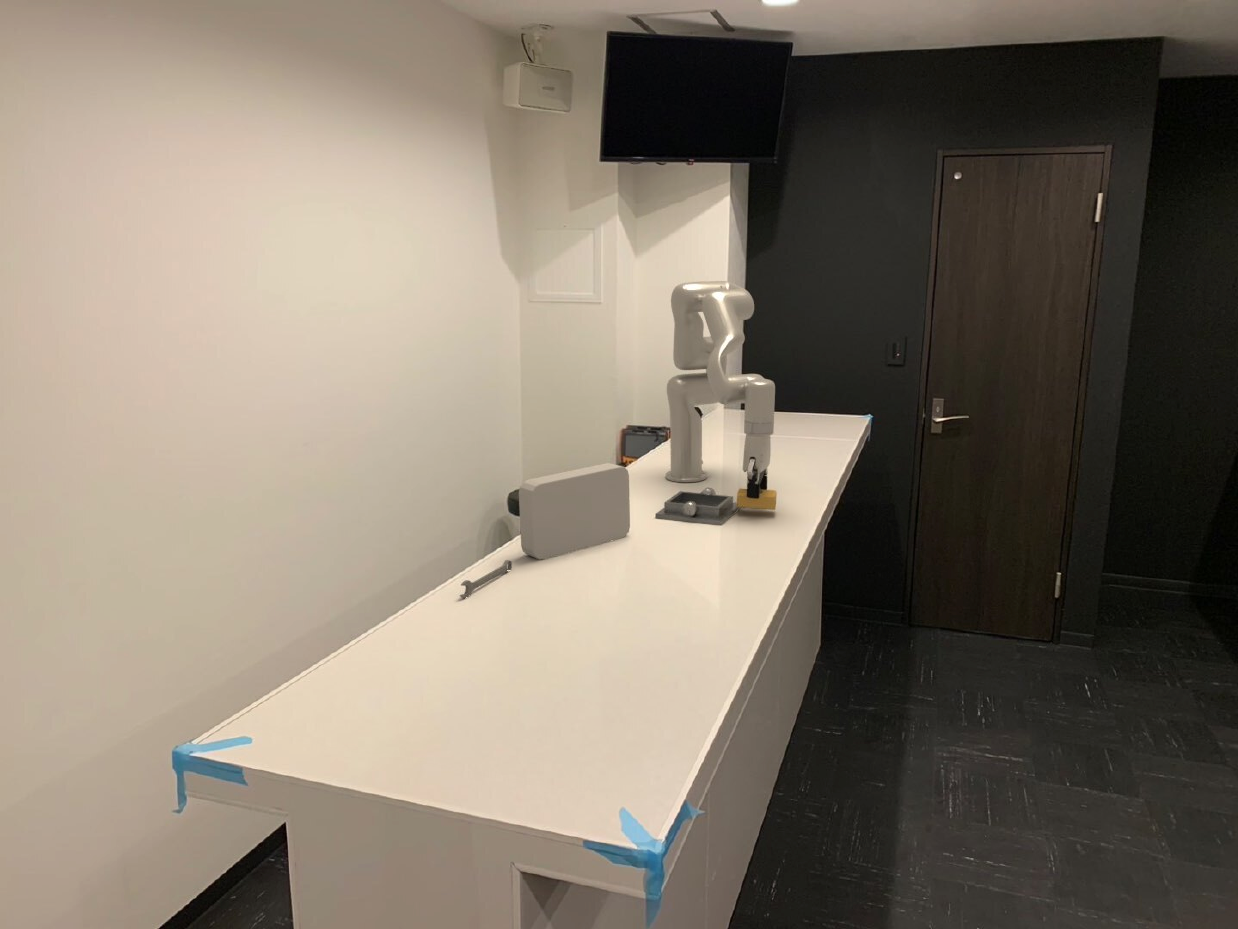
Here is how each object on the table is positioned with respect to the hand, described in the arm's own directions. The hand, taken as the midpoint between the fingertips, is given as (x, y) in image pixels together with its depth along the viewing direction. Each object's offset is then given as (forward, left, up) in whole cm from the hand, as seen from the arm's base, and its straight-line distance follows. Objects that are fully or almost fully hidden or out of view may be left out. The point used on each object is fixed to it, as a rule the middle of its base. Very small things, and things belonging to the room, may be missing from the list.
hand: (756, 493), depth 246 cm
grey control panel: (+41, -32, -6) cm, 52 cm away
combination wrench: (+70, -39, -6) cm, 81 cm away
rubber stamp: (0, 0, -4) cm, 4 cm away
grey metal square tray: (+5, -14, -5) cm, 16 cm away
